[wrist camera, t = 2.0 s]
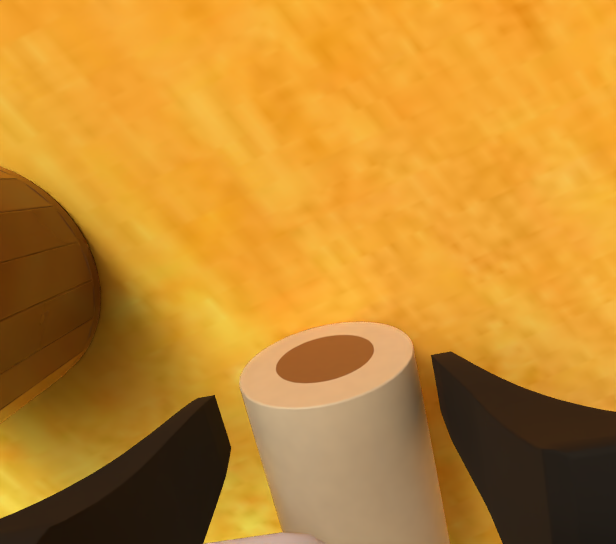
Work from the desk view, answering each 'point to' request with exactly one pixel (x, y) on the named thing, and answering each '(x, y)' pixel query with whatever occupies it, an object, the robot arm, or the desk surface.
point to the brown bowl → (41, 292)
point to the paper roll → (346, 436)
